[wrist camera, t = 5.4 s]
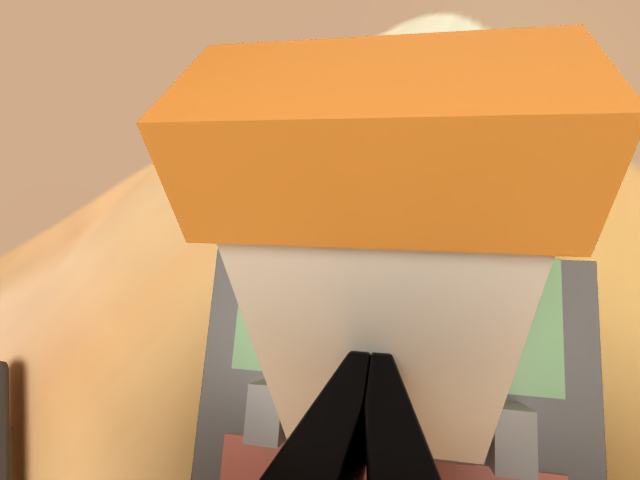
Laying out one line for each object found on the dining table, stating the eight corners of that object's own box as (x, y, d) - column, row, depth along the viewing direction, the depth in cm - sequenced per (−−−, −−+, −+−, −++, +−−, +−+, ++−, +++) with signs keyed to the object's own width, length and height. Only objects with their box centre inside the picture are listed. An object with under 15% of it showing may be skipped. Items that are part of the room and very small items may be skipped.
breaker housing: (561, 570, 15) (653, 707, 10) (229, 516, 18) (148, 602, 12) (553, 277, 17) (624, 250, 12) (254, 264, 19) (194, 236, 14)
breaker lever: (490, 498, 12) (650, 112, 4) (281, 469, 13) (136, 122, 5) (480, 403, 13) (582, 24, 6) (299, 386, 15) (208, 44, 7)
